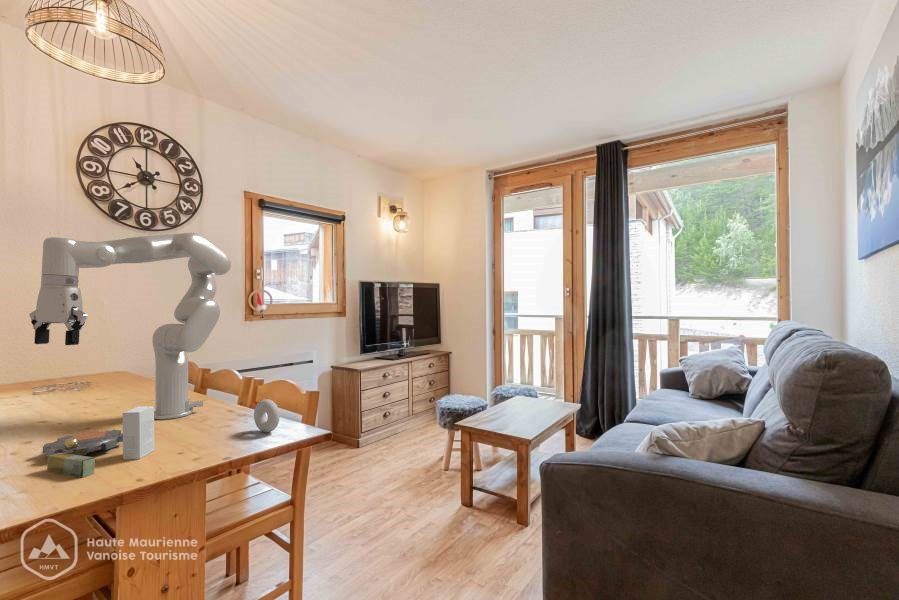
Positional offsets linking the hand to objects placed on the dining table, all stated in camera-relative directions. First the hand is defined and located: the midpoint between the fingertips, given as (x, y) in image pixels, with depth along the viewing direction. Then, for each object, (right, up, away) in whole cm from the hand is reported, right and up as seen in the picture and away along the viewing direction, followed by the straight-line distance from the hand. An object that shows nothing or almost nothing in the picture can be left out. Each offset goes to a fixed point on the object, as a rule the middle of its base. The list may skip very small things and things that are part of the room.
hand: (56, 344), depth 114 cm
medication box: (+20, -28, -18) cm, 39 cm away
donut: (+53, -28, +12) cm, 61 cm away
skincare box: (+28, -28, -7) cm, 41 cm away
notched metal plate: (+12, -26, -5) cm, 29 cm away
